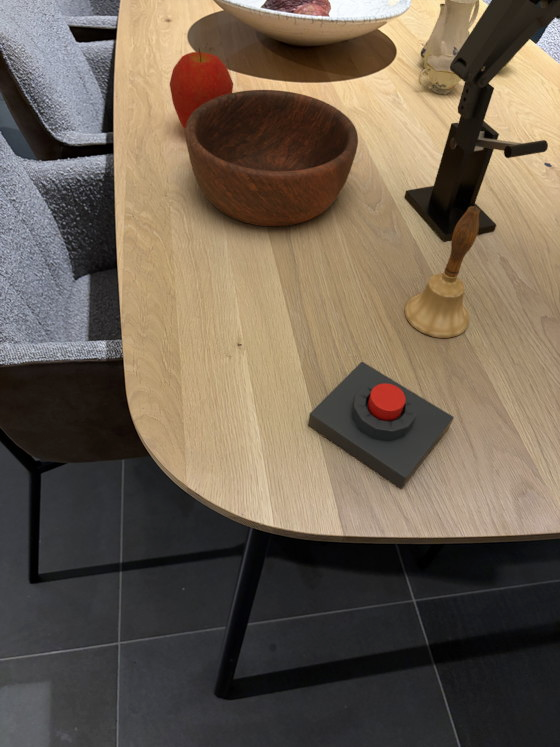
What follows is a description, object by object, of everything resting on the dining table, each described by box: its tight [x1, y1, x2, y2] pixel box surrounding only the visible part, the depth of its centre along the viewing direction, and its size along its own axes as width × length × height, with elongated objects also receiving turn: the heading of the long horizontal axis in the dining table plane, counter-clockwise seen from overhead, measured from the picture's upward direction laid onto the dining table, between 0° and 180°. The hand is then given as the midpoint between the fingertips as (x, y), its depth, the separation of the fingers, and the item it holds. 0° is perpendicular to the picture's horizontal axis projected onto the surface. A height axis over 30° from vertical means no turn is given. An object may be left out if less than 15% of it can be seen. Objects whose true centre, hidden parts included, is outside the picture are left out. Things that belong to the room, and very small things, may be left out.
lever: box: [474, 131, 549, 159], centre depth 80 cm, size 13×6×2 cm, turn 21°
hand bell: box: [404, 206, 480, 339], centre depth 72 cm, size 8×8×16 cm
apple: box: [169, 47, 234, 129], centre depth 100 cm, size 10×10×14 cm
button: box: [368, 384, 405, 421], centre depth 62 cm, size 4×4×2 cm
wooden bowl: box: [184, 89, 359, 227], centre depth 91 cm, size 25×25×10 cm
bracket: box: [404, 120, 500, 243], centre depth 88 cm, size 12×9×14 cm
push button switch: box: [307, 361, 455, 490], centre depth 64 cm, size 12×10×4 cm
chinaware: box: [418, 0, 514, 95], centre depth 121 cm, size 28×17×17 cm, turn 136°
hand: (518, 138), depth 64 cm, fingers open, 13 cm apart
